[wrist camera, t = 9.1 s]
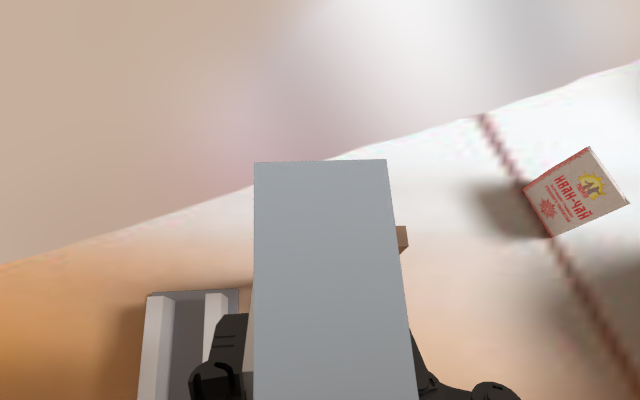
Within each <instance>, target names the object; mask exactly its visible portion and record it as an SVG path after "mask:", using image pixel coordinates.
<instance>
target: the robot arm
mask: <svg viewBox="0 0 640 400" xmlns="http://www.w3.org/2000/svg"><path fill="white" fill-rule="evenodd" d="M409 331H410V328H409ZM410 338H411V345H412V353H413V360H414V367H415V375H416V382H417V389H418V397H419V400H521V399H520V398H519V397H518V396H517V395H516V394H515V393H514V392H513V391H512V390H511V389H509V388H507V387H505V386H504V385H502V384H498V383H495V382H482V383H479V384H477V385H476V386H475V387H474V389H473V390H472V392H470V391H466V390H461V389H456V388H452V387H449V386H446V385H444V384H442V383H440V382H439V381H438V379H437V378H436V377H435V376H434V375H433V374H432V373H431V372H429V371H428V370H427V368H426V366H425V364H424V361H423V359H422V357H421V354H420V352H419V350H418V347H417V345H416V342H415V340H414V338H413V335H412V334H411V331H410ZM253 384H254V278H253V286H252V294H251V303H250V311H249V313H241V314H224V315H223V317H222V318H221V319H220V320H219V322H218V323H217V324H216V327H215V331H214V336H213V340H212V344H211V349H210V353H209V357H208V361H206V362H204V363H202V364H201V365H199V366H197V367H196V368H195V369H194V371H193V372H192V373H191V374H190V377H189V379H188V387H189V393H190V398H191V400H253Z"/></svg>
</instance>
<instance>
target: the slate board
mask: <svg viewBox="0 0 640 400" xmlns="http://www.w3.org/2000/svg"><path fill="white" fill-rule="evenodd" d="M253 400H419V397H418V389H417V382H416V375H415V367H414V360H413V353H412V345H411V338H410V331H409V323H408V316H407V309H406V301H405V294H404V286H403V279H402V272H401V264H400V257H399V250H398V242H397V235H396V228H395V220H394V213H393V206H392V198H391V191H390V184H389V176H388V169H387V161H386V159H373V160H335V161H297V162H258V163H254V384H253Z"/></svg>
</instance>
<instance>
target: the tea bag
mask: <svg viewBox="0 0 640 400" xmlns="http://www.w3.org/2000/svg"><path fill="white" fill-rule="evenodd" d="M522 191H523V193H524V194H525V196H526V197H527V199H528V201H529V202H530V204H531V205H532V207H533V209H534V210H535V212H536V214H537V215H538V217H539V218H540V220H541V222H542V223H543V225H544V226H545V228H546V230H547V231H548V233H549V235H550V236H551V238H552V237H555V236H557V235H559V234H562V233H564V232H566V231H569V230H571V229H574V228H576V227H578V226H581V225H583V224H585V223H587V222H590V221H592V220H594V219H596V218H599V217H601V216H603V215H605V214H608V213H610V212H612V211H614V210H617V209H619V208H621V207H623V206H625V205H628V204H630V202H629V201H628V199H627V198H626V197H625V195H624V194H623V192H622V191H621V190H620V188H619V187H618V185H617V184H616V183H615V181H614V180H613V178H612V177H611V176H610V174H609V173H608V171H607V170H606V169H605V167H604V166H603V164H602V163H601V162H600V160H599V159H598V157H597V156H596V155H595V153H594V152H593V150H592V149H591V148H590V146H589V147H588V148H587V147H586V148H584V149H583V150H581V151H580V152H578V153H576V154H575V155H573V156H571V157H570V158H568V159H566V160H565V161H563V162H561V163H560V164H558V165H556V166H554V167H553V168H551V169H549V170H548V171H547V172H545V173H544V174H542V175H541V176H540V177H538V178H537V179H536V180H534V181H533V182H531V183H530V184H529V185H527V186H526V187H524V188H523V189H522Z"/></svg>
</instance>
